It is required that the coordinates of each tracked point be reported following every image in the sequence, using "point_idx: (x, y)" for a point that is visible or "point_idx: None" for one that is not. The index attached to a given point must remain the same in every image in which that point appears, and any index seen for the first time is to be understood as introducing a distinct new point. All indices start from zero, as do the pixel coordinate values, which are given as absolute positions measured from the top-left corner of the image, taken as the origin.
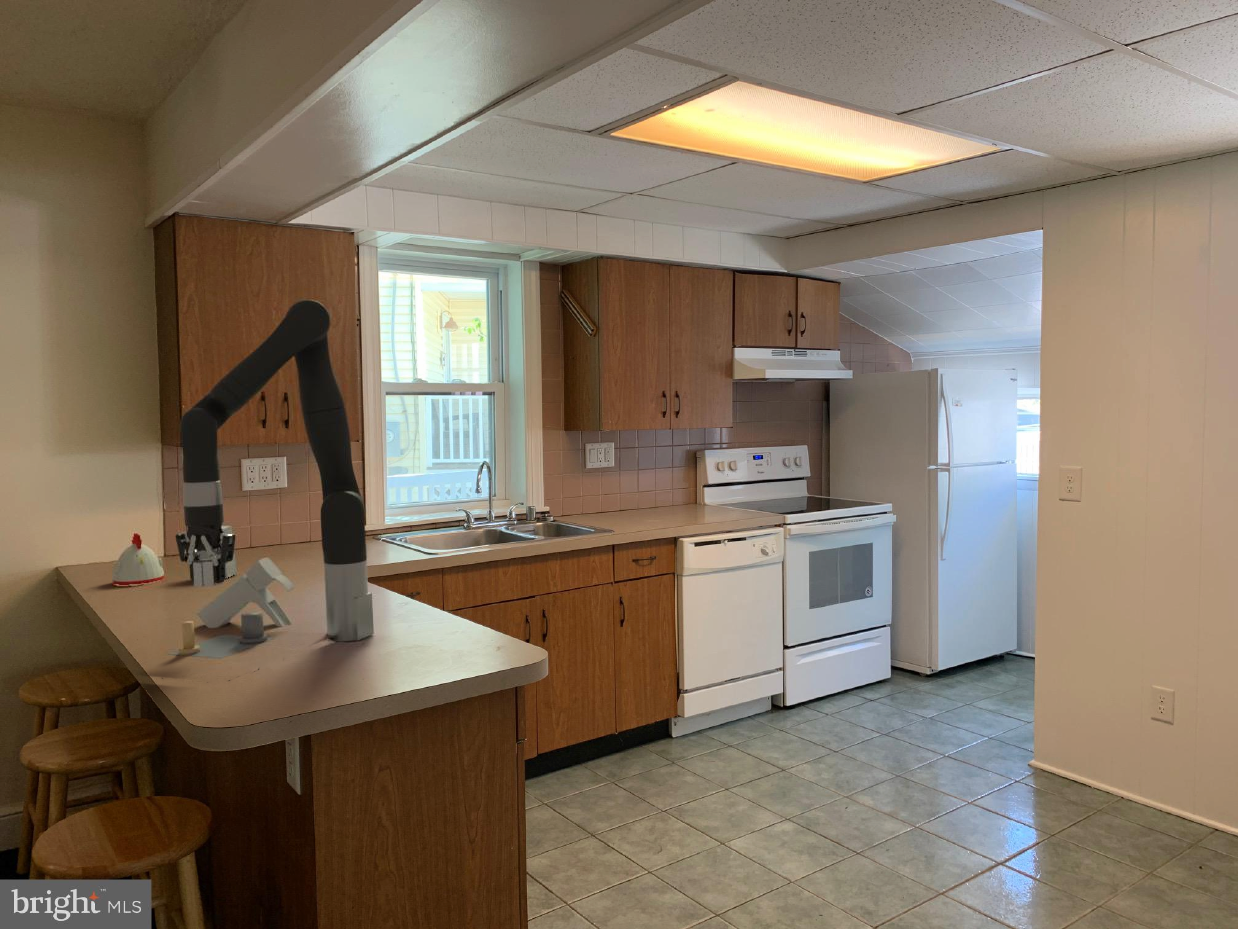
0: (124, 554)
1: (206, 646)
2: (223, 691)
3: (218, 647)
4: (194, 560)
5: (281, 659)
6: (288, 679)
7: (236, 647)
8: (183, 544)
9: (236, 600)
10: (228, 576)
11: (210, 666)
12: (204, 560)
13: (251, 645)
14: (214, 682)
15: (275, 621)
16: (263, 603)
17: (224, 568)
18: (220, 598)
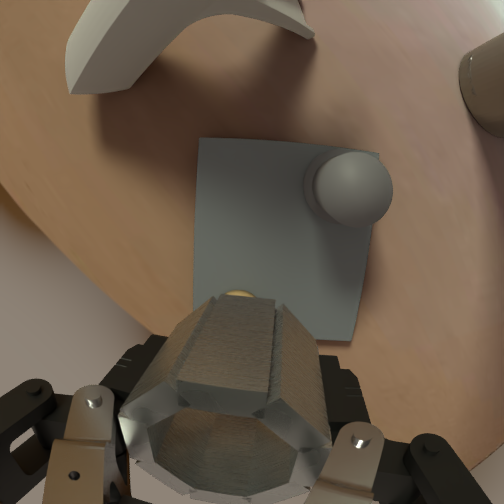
0: None
1: (242, 256)
2: (420, 432)
3: (283, 261)
4: (121, 448)
5: (454, 280)
6: (490, 371)
7: (333, 254)
8: (5, 495)
9: (161, 31)
10: None
11: (332, 350)
12: (155, 419)
13: (362, 230)
14: (391, 413)
15: (295, 28)
16: (257, 8)
17: (366, 417)
18: (106, 50)
